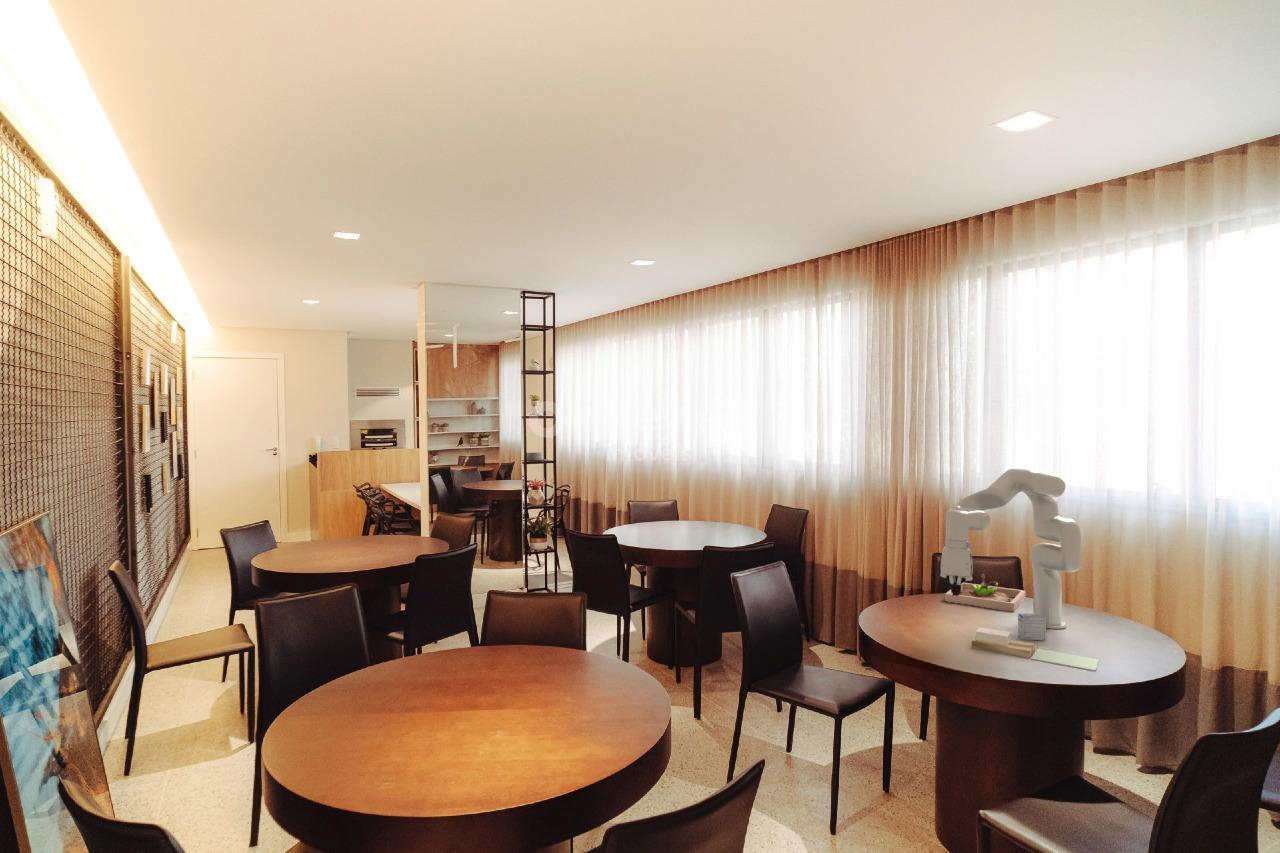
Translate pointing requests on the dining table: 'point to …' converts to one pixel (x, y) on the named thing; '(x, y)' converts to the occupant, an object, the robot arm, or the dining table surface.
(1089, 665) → the mat
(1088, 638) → the dining table surface
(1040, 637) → the medicine box
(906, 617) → the dining table surface
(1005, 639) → the cream rectangular block
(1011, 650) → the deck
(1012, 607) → the planter tray
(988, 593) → the plant
